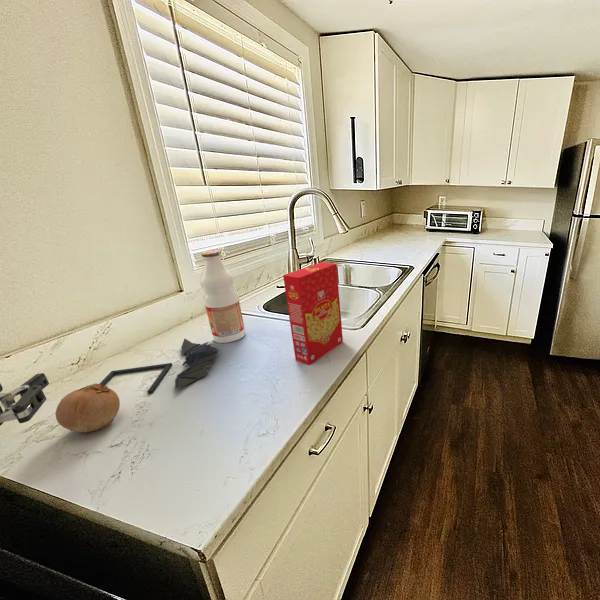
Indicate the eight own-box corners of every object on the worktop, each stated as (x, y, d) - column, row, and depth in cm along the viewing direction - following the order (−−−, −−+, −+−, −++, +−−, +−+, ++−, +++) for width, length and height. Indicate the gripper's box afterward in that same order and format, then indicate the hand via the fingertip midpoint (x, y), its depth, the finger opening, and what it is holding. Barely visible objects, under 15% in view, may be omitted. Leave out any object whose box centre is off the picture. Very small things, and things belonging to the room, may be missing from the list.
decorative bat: (216, 368, 80) (169, 383, 76) (221, 382, 81) (175, 397, 77) (216, 323, 104) (180, 333, 100) (220, 335, 106) (184, 344, 102)
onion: (120, 424, 73) (131, 380, 73) (102, 443, 64) (115, 393, 65) (64, 421, 69) (77, 375, 69) (38, 441, 60) (52, 388, 61)
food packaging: (309, 365, 89) (298, 277, 80) (295, 360, 91) (283, 275, 82) (342, 342, 101) (336, 263, 92) (329, 338, 103) (322, 261, 94)
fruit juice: (232, 345, 100) (212, 256, 90) (206, 342, 102) (184, 254, 92) (252, 331, 108) (235, 248, 98) (228, 329, 111) (209, 247, 101)
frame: (82, 404, 75) (81, 401, 74) (112, 373, 86) (111, 370, 86) (152, 393, 78) (151, 390, 78) (172, 365, 90) (171, 362, 89)
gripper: (-31, 426, 38) (66, 354, 53) (-207, 454, 34) (-49, 368, 49) (-1, 474, 40) (82, 392, 56) (-162, 504, 37) (-25, 408, 52)
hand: (20, 381), depth 52 cm, fingers open, 5 cm apart
